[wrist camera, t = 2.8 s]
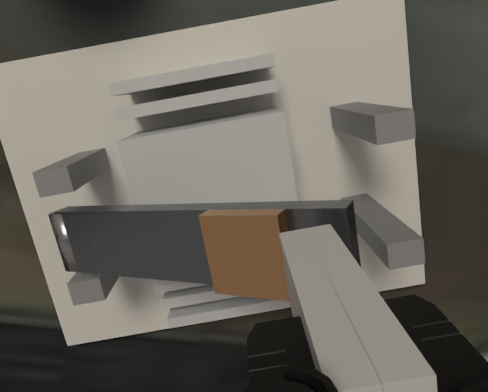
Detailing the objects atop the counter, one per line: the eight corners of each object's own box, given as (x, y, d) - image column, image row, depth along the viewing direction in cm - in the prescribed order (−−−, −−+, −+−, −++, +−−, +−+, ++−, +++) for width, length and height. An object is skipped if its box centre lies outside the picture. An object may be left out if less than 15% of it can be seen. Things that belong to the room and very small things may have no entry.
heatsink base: (73, 337, 29) (5, 444, 20) (-13, 68, 25) (-147, 58, 16) (418, 276, 29) (500, 359, 20) (396, -8, 24) (489, -61, 16)
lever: (80, 261, 21) (53, 276, 20) (63, 205, 20) (34, 216, 19) (364, 283, 14) (352, 308, 13) (354, 197, 13) (340, 214, 12)
